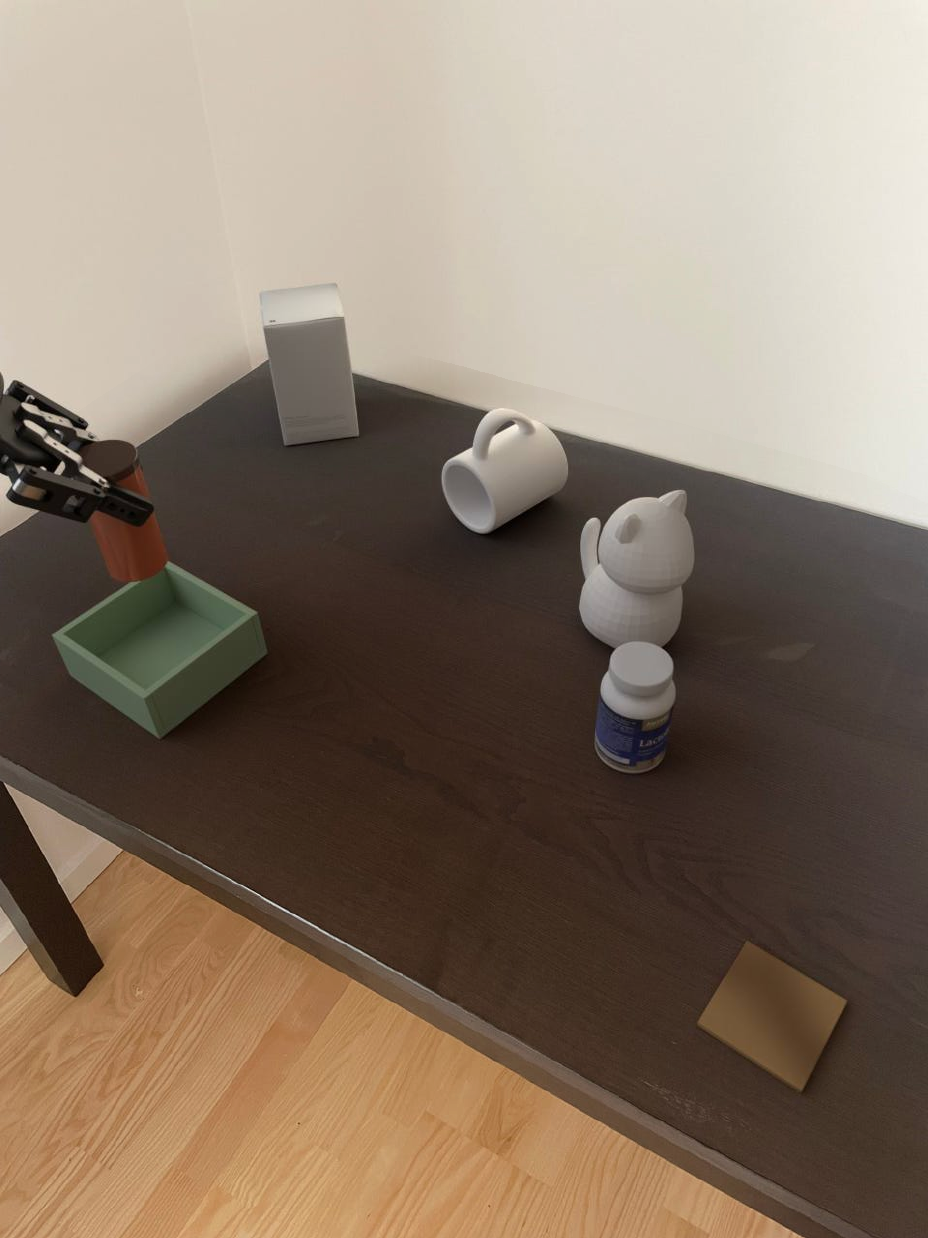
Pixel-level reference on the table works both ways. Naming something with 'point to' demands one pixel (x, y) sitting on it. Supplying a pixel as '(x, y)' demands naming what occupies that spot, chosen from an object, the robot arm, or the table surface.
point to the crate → (161, 647)
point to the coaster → (773, 1015)
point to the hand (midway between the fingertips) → (141, 494)
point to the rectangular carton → (310, 363)
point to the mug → (504, 471)
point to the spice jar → (119, 542)
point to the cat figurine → (637, 571)
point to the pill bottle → (635, 708)
